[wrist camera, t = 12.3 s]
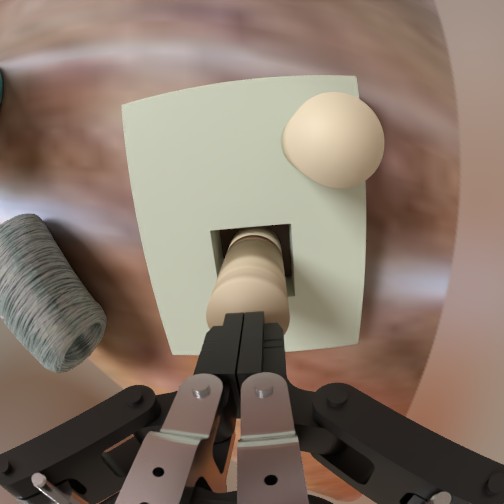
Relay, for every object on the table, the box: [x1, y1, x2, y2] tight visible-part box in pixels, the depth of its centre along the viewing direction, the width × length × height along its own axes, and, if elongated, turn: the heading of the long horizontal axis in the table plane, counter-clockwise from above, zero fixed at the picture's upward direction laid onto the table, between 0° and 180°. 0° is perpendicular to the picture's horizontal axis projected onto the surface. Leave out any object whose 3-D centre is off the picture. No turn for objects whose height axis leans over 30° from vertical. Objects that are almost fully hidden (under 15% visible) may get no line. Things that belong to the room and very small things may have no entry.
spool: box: [0, 214, 107, 373], centre depth 19 cm, size 14×10×10 cm
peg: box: [206, 226, 290, 335], centre depth 16 cm, size 4×4×9 cm
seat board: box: [121, 75, 384, 355], centre depth 16 cm, size 18×14×9 cm
